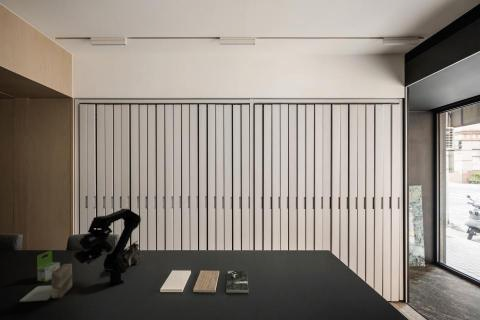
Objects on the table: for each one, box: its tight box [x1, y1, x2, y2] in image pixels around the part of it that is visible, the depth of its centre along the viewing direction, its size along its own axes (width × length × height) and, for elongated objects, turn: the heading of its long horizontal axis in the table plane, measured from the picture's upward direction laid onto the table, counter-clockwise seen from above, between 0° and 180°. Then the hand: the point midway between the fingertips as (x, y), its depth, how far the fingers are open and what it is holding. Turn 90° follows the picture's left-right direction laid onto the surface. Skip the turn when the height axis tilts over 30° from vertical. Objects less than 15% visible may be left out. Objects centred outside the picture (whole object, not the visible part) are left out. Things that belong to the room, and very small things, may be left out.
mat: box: [19, 284, 52, 303], centre depth 145 cm, size 12×15×1 cm
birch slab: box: [51, 263, 73, 299], centre depth 146 cm, size 4×12×12 cm, turn 7°
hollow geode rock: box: [122, 240, 143, 271], centre depth 181 cm, size 28×13×15 cm
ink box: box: [36, 249, 61, 283], centre depth 163 cm, size 10×5×14 cm, turn 168°
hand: (88, 263), depth 151 cm, fingers closed
